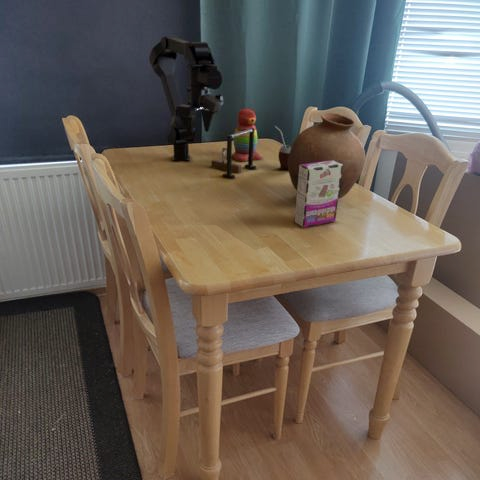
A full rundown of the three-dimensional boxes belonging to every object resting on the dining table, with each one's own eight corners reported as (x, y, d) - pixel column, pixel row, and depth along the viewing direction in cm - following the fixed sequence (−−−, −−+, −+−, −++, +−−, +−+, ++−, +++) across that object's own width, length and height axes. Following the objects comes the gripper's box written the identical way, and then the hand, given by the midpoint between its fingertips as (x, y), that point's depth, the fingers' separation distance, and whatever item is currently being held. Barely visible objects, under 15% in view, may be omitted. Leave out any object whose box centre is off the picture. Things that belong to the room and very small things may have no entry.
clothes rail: (222, 176, 168) (223, 134, 160) (246, 166, 179) (248, 127, 171) (232, 179, 166) (233, 136, 158) (255, 168, 177) (257, 128, 169)
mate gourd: (300, 170, 178) (304, 127, 169) (283, 173, 174) (287, 129, 165) (287, 165, 183) (291, 123, 174) (271, 168, 179) (274, 125, 170)
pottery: (283, 185, 163) (290, 105, 149) (351, 188, 162) (364, 108, 148) (286, 209, 144) (294, 121, 130) (363, 212, 144) (380, 124, 130)
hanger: (211, 167, 177) (211, 145, 173) (214, 165, 179) (214, 144, 174) (238, 173, 172) (238, 151, 168) (240, 172, 173) (241, 150, 169)
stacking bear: (239, 162, 184) (241, 112, 174) (227, 155, 191) (228, 107, 181) (263, 159, 188) (266, 110, 178) (250, 152, 196) (252, 105, 186)
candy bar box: (325, 216, 140) (332, 159, 131) (335, 222, 136) (344, 164, 127) (292, 222, 136) (298, 163, 127) (302, 228, 132) (309, 168, 123)
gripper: (200, 91, 151) (201, 142, 159) (233, 84, 164) (232, 132, 172) (173, 87, 155) (175, 137, 164) (207, 81, 169) (207, 128, 177)
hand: (198, 133), depth 169 cm, fingers open, 9 cm apart
